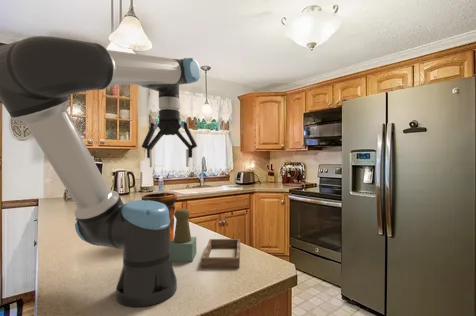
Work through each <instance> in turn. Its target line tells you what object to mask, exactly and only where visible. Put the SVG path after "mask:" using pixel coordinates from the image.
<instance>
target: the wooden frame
mask: <svg viewBox="0 0 476 316" xmlns="http://www.w3.org/2000/svg"><path fill="white" fill-rule="evenodd" d="M213 248H226V249H227V248H234V249H235V248H236V256H232V257H231V256H229V257H228V256H227V257H226V256H223V257H222V256H219V257H218V256H217V257H215V256H213V257H212V256H211V251H212V249H213ZM210 256H211V257H210ZM240 260H241V238H217V239H216V238H210V239H209V240H208V242H207V245H206V248H205V249H204V252H203V254H202V257H201V269H209V268H210V269H233V268H234V269H236V268H240V262H241V261H240Z"/></svg>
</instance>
